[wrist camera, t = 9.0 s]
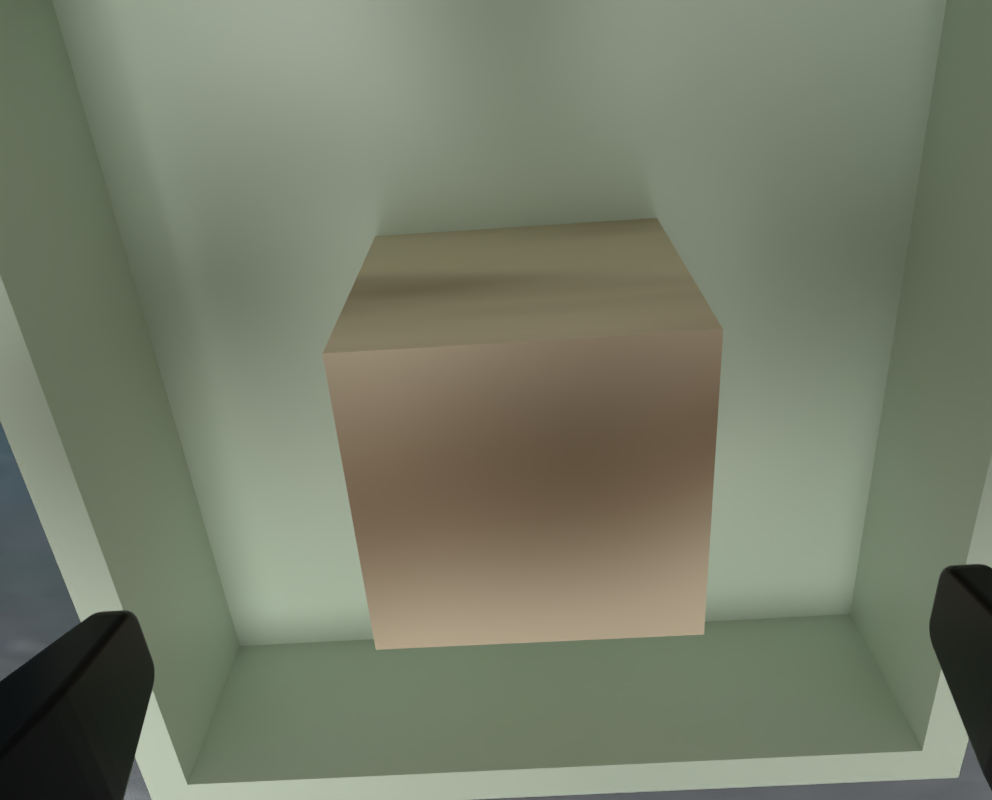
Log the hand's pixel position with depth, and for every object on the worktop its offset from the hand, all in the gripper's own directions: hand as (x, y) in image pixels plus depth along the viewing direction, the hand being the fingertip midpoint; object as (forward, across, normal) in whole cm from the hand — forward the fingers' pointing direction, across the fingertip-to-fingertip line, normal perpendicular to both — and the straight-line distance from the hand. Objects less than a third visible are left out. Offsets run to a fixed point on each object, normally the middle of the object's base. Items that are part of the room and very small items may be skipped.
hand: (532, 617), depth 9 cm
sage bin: (+8, 0, 0) cm, 8 cm away
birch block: (+7, 0, 0) cm, 7 cm away
